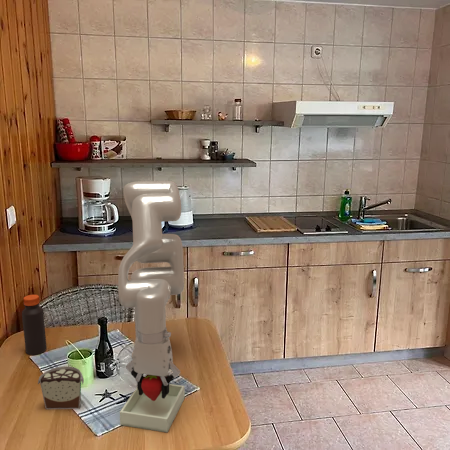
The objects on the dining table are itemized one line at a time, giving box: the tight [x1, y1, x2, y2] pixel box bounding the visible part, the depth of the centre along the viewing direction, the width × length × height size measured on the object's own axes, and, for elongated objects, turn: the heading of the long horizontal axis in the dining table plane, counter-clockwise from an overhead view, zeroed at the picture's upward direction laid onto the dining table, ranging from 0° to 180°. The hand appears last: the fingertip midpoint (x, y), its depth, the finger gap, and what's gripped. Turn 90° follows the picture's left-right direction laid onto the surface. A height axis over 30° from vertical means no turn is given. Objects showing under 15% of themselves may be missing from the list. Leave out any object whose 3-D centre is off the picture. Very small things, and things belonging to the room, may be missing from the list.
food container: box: [37, 365, 85, 410], centre depth 127 cm, size 12×6×10 cm, turn 92°
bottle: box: [21, 294, 48, 356], centre depth 154 cm, size 7×7×20 cm
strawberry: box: [141, 374, 163, 401], centre depth 123 cm, size 6×8×10 cm
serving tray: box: [119, 383, 186, 433], centre depth 125 cm, size 15×13×4 cm
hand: (153, 393), depth 124 cm, fingers closed on strawberry, 6 cm apart
